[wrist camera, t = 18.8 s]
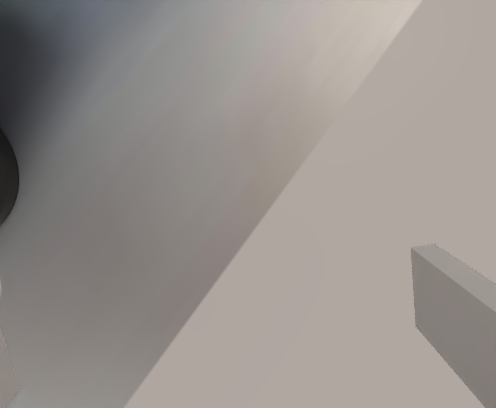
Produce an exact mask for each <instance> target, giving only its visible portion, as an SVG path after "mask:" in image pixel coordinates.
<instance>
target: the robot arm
mask: <svg viewBox="0 0 496 408" xmlns="http://www.w3.org/2000/svg"><path fill="white" fill-rule="evenodd" d="M17 190H18V168H17V163H16V159H15V156H14V153H13V150H12V148H11V146H10V144H9V142H8V140H7V139H6V137H5V135H4V134H3V133H2V131H1V130H0V224H1V223H2V222H3V221H4V220H5V219H6V217H7V216H8V214H9V213H10V211H11V209H12V207H13V205H14V202H15V199H16V195H17ZM411 259H412V275H413V291H414V306H415V322H416V327H417V328H418V329H419V331H420V332H421V333H422V334H423V335H424V336H425V338H426V339H427V340H428V341H429V342H430V344H431V345H432V346H433V347H434V348H435V349H436V350H437V352H438V353H439V354H440V355H441V356H442V358H443V359H444V360H445V361H446V362H447V363H448V365H449V366H450V367H451V368H452V369H453V370H454V372H455V373H456V374H457V375H458V376H459V377H460V379H461V380H462V381H463V382H464V383H465V384H466V386H467V387H468V388H469V389H470V390H471V391H472V393H473V394H474V395H475V396H476V397H477V398H478V400H479V401H480V402H481V403H482V404H483V405H484V407H485V408H496V283H494V282H492V281H491V280H489V279H488V278H486V277H485V276H483V275H482V274H480V273H479V272H477V271H476V270H474V269H473V268H471V267H469V266H468V265H466V264H465V263H463V262H462V261H460V260H459V259H457V258H456V257H454V256H453V255H451V254H450V253H448V252H446V251H445V250H443V249H442V248H440V247H439V246H437V245H436V244H431V245H424V246H418V247H412V248H411ZM19 390H20V386H19V383H18V380H17V376H16V373H15V370H14V367H13V364H12V361H11V358H10V354H9V351H8V348H7V345H6V342H5V339H4V336H3V333H2V329H1V326H0V408H6V407H7V406H8V404H9V403H10V402H11V400H12V399H13V398H14V397H15V395H16V394H17V393H18V391H19Z"/></svg>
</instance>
